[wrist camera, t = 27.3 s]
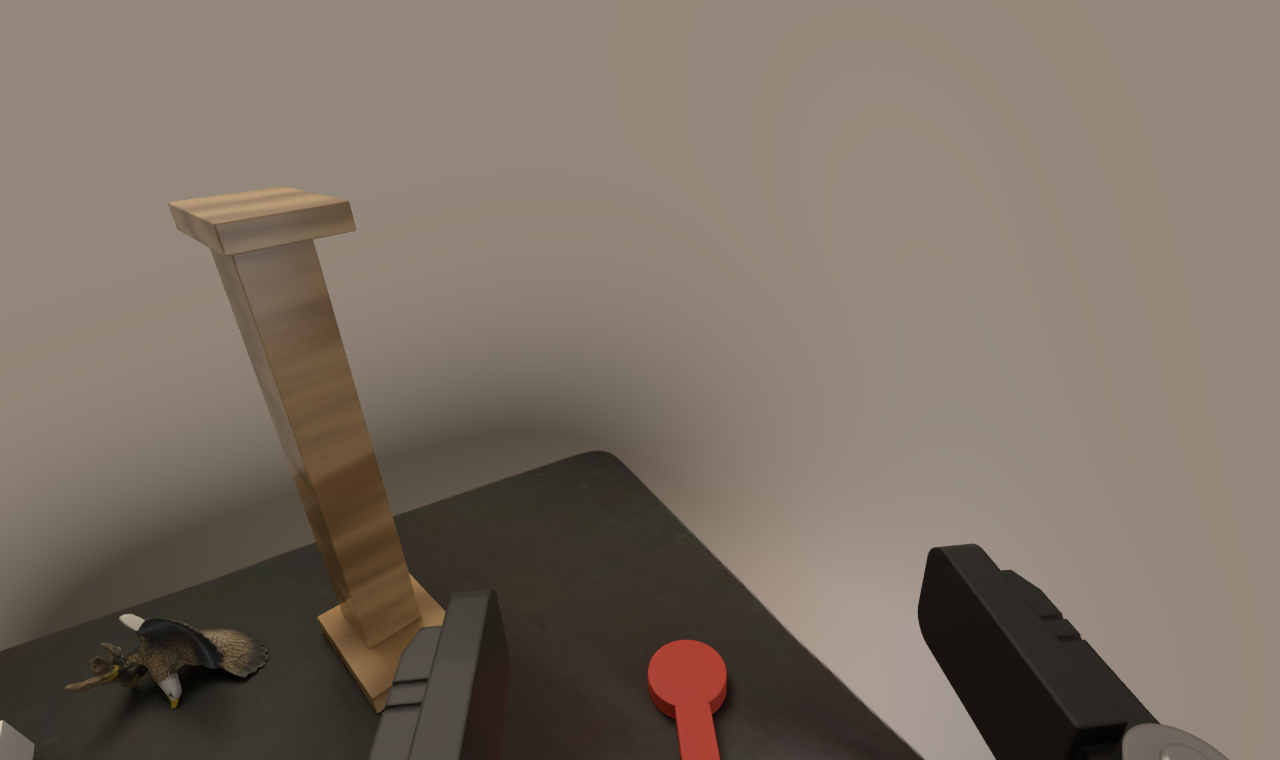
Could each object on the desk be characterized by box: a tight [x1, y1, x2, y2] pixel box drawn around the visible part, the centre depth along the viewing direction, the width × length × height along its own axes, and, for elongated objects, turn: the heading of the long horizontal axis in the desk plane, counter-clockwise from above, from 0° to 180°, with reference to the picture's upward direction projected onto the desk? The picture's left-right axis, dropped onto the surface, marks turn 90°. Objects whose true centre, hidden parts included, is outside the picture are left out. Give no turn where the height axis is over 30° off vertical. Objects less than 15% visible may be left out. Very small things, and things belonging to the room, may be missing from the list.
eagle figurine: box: [64, 614, 268, 708], centre depth 43 cm, size 8×7×9 cm
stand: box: [168, 186, 445, 713], centre depth 39 cm, size 10×7×32 cm
